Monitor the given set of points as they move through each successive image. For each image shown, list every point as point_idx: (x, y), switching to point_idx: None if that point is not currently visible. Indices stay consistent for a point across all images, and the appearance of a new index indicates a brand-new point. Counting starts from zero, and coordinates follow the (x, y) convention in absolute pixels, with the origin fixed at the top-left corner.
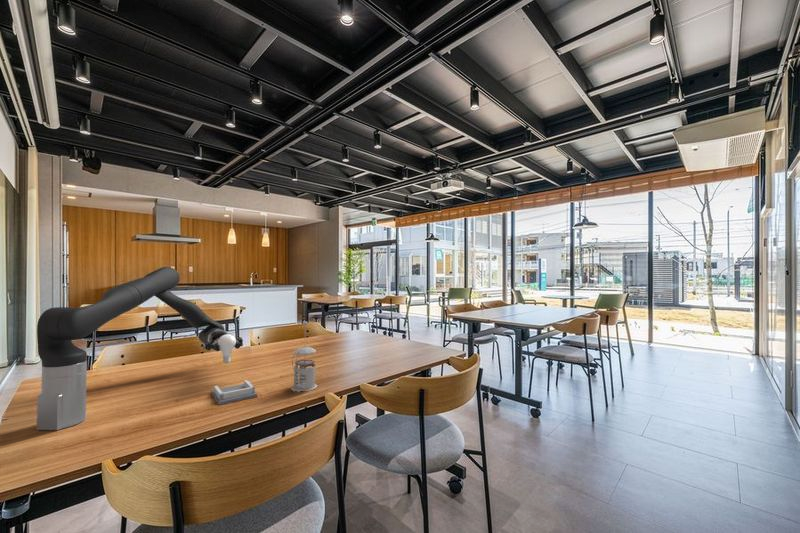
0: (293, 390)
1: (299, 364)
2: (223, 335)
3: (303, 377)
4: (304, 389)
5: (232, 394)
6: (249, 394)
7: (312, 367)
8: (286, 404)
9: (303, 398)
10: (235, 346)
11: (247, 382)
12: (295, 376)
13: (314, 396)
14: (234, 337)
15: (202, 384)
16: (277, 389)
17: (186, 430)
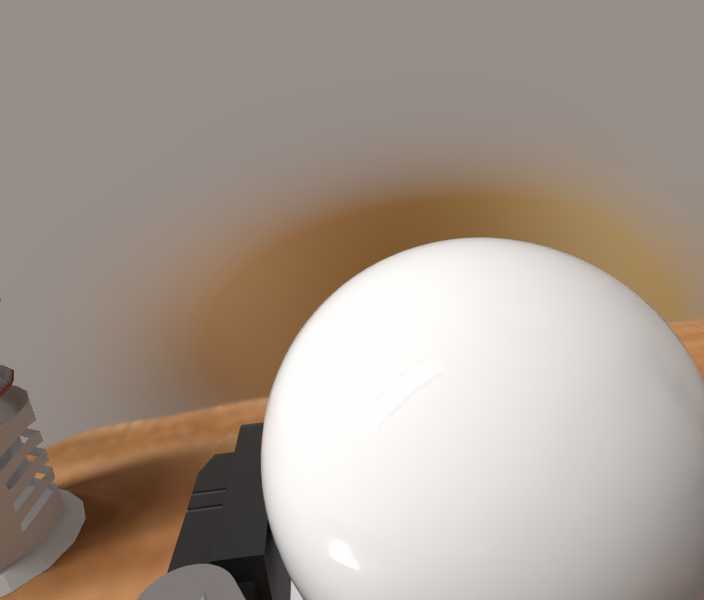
0: (80, 521)
1: (7, 375)
2: (557, 251)
3: (30, 431)
4: (49, 487)
5: None
6: None
7: None
8: (220, 414)
9: (130, 436)
10: (285, 595)
11: (294, 596)
12: (40, 455)
13: (81, 438)
14: (297, 336)
15: None
16: (124, 582)
17: None
